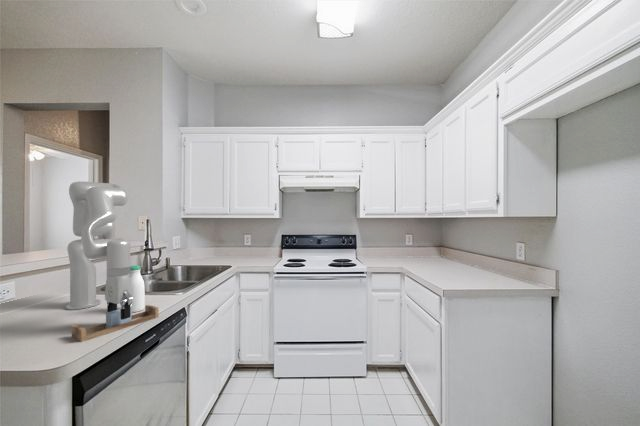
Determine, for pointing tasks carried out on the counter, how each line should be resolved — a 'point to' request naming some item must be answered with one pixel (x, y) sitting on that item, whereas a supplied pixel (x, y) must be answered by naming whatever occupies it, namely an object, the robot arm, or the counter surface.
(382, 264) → the counter surface
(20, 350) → the counter surface
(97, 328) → the bottom track
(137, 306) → the milk bottle
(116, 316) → the pale blue upright box
